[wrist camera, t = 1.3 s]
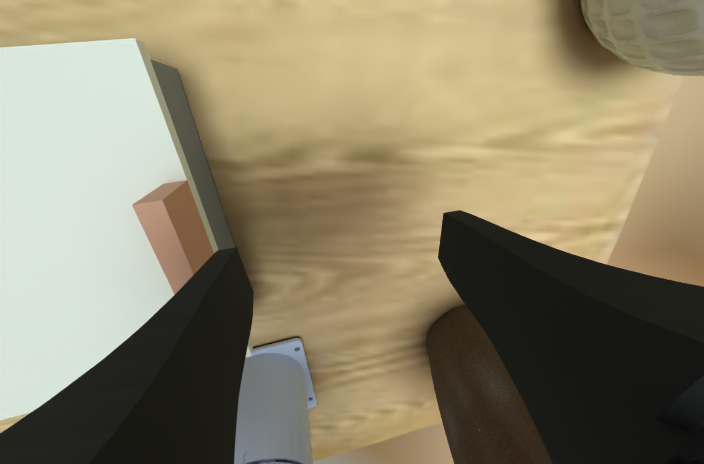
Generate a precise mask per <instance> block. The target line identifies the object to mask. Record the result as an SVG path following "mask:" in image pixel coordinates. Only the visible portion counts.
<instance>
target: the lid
mask: <svg viewBox="0 0 704 464" xmlns="http://www.w3.org/2000/svg"><path fill="white" fill-rule="evenodd" d="M216 251H218V247H217V245H216V242H215V239H214V236H213V233H212V231H211V228H210V225H209V222H208V219H207V217H206V214H205V211H204V208H203V205H202V203H201V200H200V197H199V194H198V191H197V189H196V186H195V183H194V180H193V177H192V175H191V172H190V169H189V166H188V163H187V161H186V158H185V155H184V152H183V150H182V147H181V144H180V141H179V138H178V136H177V133H176V130H175V127H174V124H173V122H172V119H171V116H170V113H169V110H168V108H167V105H166V102H165V99H164V96H163V94H162V91H161V88H160V85H159V82H158V80H157V77H156V74H155V71H154V68H153V66H152V63H151V60H150V57H149V55H148V52H147V49H146V46H145V43H144V42H142V41H140V40H138V39H135V38H131V39H117V40H102V41H88V42H74V43H59V44H45V45H31V46H17V47H2V48H0V420H3V419H7V418H11V417H14V416H18V415H22V414H26V413H30V412H33V411H34V410H35V409H37V408H38V407H40V406H41V405H43V404H44V403H45V402H47V401H48V400H50V399H51V398H52V397H54V396H55V395H56V394H58V393H59V392H60V391H62V390H63V389H64V388H66V387H67V386H68V385H70V384H71V383H72V382H74V381H75V380H76V379H78V378H79V377H80V376H82V375H83V374H84V373H86V372H87V371H88V370H90V369H91V368H92V367H94V366H95V365H96V364H97V363H99V362H100V361H101V360H102V359H104V358H105V357H106V356H107V355H109V354H110V353H111V352H112V351H113V350H115V349H116V348H117V347H118V346H119V345H121V344H122V343H123V342H124V341H125V340H127V339H128V338H129V337H130V336H131V335H132V334H134V333H135V332H136V331H137V330H138V329H139V328H140V327H141V326H143V325H144V324H145V323H146V322H147V321H148V320H149V319H150V318H151V317H152V316H153V315H154V314H155V313H156V312H157V311H158V310H159V309H160V308H161V307H162V306H163V305H165V304H166V303H167V302H168V301H169V300H170V299H171V298H172V297H173V296H174V295H175V294H176V293H177V292H178V291H179V290H180V289H181V288H182V287H183V285H184V284H185V283H186V282H187V281H188V280H189V279H190V278H191V277H192V276H193V275H194V274H195V273H196V272H197V271H198V270H199V269H200V268H201V267H202V265H203V264H204V263H205V262H206V261H207V260H208V259H209V258H210V257H211V256H212V255H213V254H214V253H215V252H216ZM252 350H253V345H252V342H251V340H250V337H249V342H248V347H247V353H246V357H250V356H252Z"/></svg>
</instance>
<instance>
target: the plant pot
mask: <svg viewBox="0 0 704 464" xmlns="http://www.w3.org/2000/svg"><path fill="white" fill-rule="evenodd" d="M427 348H428V355H429V362H430V368H431V374H432V379H433V384H434V389H435V393H436V398H437V402H438V406H439V410H440V414H441V418H442V422H443V426H444V429H445V433H446V437H447V440H448V444H449V447H450V451H451V454H452V457H453V461H454V464H553V463H552V461H551V459H550V456H549V454H548V452H547V450H546V448H545V445H544V443H543V441H542V439H541V437H540V434H539V432H538V430H537V428H536V426H535V424H534V422H533V420H532V418H531V416H530V414H529V412H528V410H527V408H526V406H525V404H524V402H523V400H522V398H521V396H520V394H519V392H518V390H517V388H516V386H515V384H514V382H513V380H512V379H511V377H510V375H509V373H508V371H507V369H506V367H505V366H504V364H503V362H502V360H501V358H500V357H499V355H498V353H497V351H496V349H495V348H494V346H493V344H492V342H491V341H490V339H489V338H488V336H487V335H486V333H485V331H484V330H483V329H482V327H481V326H480V324H479V323H478V321H477V320H476V319H475V317H474V316H473V314H472V313H471V311H470V310H469V309H468V307H467V306H462V307H458V308H456V309H453V310H451V311H449V312H448V313H446V314H445V315H443V316H442V317H441V318H440V319H439V320H438V321H437V322H436V323H435V324H434V326H433V327H432V328H431V330H430V332H429V335H428V339H427Z"/></svg>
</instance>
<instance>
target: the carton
mask: <svg viewBox="0 0 704 464" xmlns="http://www.w3.org/2000/svg"><path fill="white" fill-rule="evenodd" d="M151 63H152V66H153V68H154V71H155V74H156V77H157V80H158V82H159V85H160V88H161V91H162V94H163V96H164V99H165V102H166V105H167V108H168V110H169V113H170V116H171V119H172V122H173V124H174V127H175V130H176V133H177V136H178V138H179V141H180V144H181V147H182V150H183V152H184V155H185V158H186V161H187V163H188V166H189V169H190V172H191V175H192V177H193V180H194V183H195V186H196V189H197V191H198V194H199V197H200V200H201V203H202V205H203V208H204V211H205V214H206V217H207V219H208V222H209V225H210V228H211V231H212V233H213V236H214V239H215V242H216V245H217V247H218V250H224V249H230V248H235V245H234V242H233V239H232V236H231V233H230V230H229V227H228V224H227V221H226V217H225V214H224V211H223V208H222V205H221V202H220V199H219V196H218V193H217V190H216V187H215V184H214V181H213V178H212V175H211V172H210V168H209V165H208V162H207V159H206V156H205V153H204V150H203V147H202V144H201V141H200V138H199V135H198V132H197V129H196V126H195V122H194V119H193V116H192V113H191V110H190V107H189V104H188V101H187V98H186V95H185V92H184V89H183V86H182V83H181V80H180V76H179V73H178V70H177V69H176V68H173V67H170V66H167V65H164V64H161V63H158V62H156V61H153V60H151Z"/></svg>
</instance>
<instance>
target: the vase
mask: <svg viewBox="0 0 704 464" xmlns="http://www.w3.org/2000/svg"><path fill="white" fill-rule="evenodd" d="M580 3H581V10H582V14H583V16H584V19H585V21H586V23H587V25H588V27H589V29H590V30H591V32H592V34H593V35H594V36H595V38H596V39H597V41H598V42H599V43H600V44H601V45H602V46H603V47H604V48H606V49H607V50H609V51H610V52H612V53H613V54H615V55H616V56H618V57H619V58H621V59H622V60H624V61H627V62H629V63H631V64H633V65H636V66H638V67H640V68H643V69H646V70H649V71H654V72H659V73H665V74H671V75H682V76H704V0H580Z"/></svg>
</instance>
